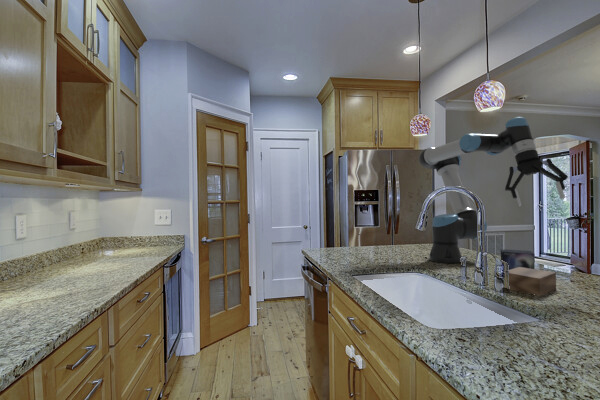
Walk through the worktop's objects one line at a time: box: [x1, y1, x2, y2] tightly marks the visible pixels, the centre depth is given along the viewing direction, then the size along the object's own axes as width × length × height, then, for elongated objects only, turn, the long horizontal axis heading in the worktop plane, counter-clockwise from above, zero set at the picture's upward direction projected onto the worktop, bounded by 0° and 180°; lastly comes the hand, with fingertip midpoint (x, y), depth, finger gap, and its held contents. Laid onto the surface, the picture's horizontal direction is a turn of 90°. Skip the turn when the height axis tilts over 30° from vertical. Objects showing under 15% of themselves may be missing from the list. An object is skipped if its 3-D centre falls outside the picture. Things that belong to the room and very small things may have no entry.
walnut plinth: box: [509, 267, 557, 297], centre depth 106 cm, size 11×14×6 cm
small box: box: [500, 248, 535, 270], centre depth 121 cm, size 11×6×10 cm, turn 62°
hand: (541, 202), depth 119 cm, fingers open, 13 cm apart
